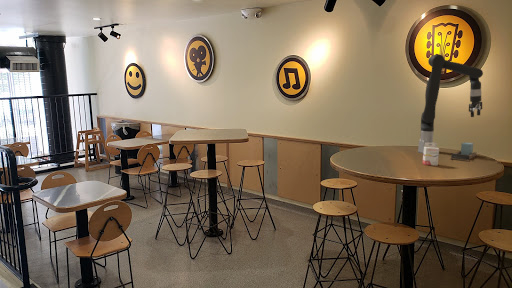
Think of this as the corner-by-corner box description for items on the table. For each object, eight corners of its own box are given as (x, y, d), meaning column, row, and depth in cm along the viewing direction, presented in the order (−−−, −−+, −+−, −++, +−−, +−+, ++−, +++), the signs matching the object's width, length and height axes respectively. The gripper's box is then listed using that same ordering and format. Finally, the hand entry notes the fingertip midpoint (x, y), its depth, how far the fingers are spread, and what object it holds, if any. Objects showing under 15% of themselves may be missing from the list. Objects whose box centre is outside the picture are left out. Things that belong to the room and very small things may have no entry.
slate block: (463, 154, 292) (464, 142, 290) (472, 155, 288) (473, 143, 286) (460, 155, 286) (461, 143, 284) (469, 156, 282) (470, 144, 280)
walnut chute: (459, 155, 295) (459, 149, 294) (476, 157, 287) (477, 151, 286) (450, 159, 278) (450, 153, 277) (468, 161, 270) (469, 155, 269)
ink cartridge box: (424, 165, 259) (426, 143, 257) (422, 163, 264) (423, 142, 261) (438, 165, 258) (439, 143, 256) (435, 163, 263) (437, 142, 261)
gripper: (476, 94, 302) (475, 114, 305) (465, 96, 295) (465, 117, 298) (485, 94, 296) (485, 115, 299) (475, 96, 289) (475, 117, 292)
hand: (475, 116), depth 298 cm, fingers open, 8 cm apart
